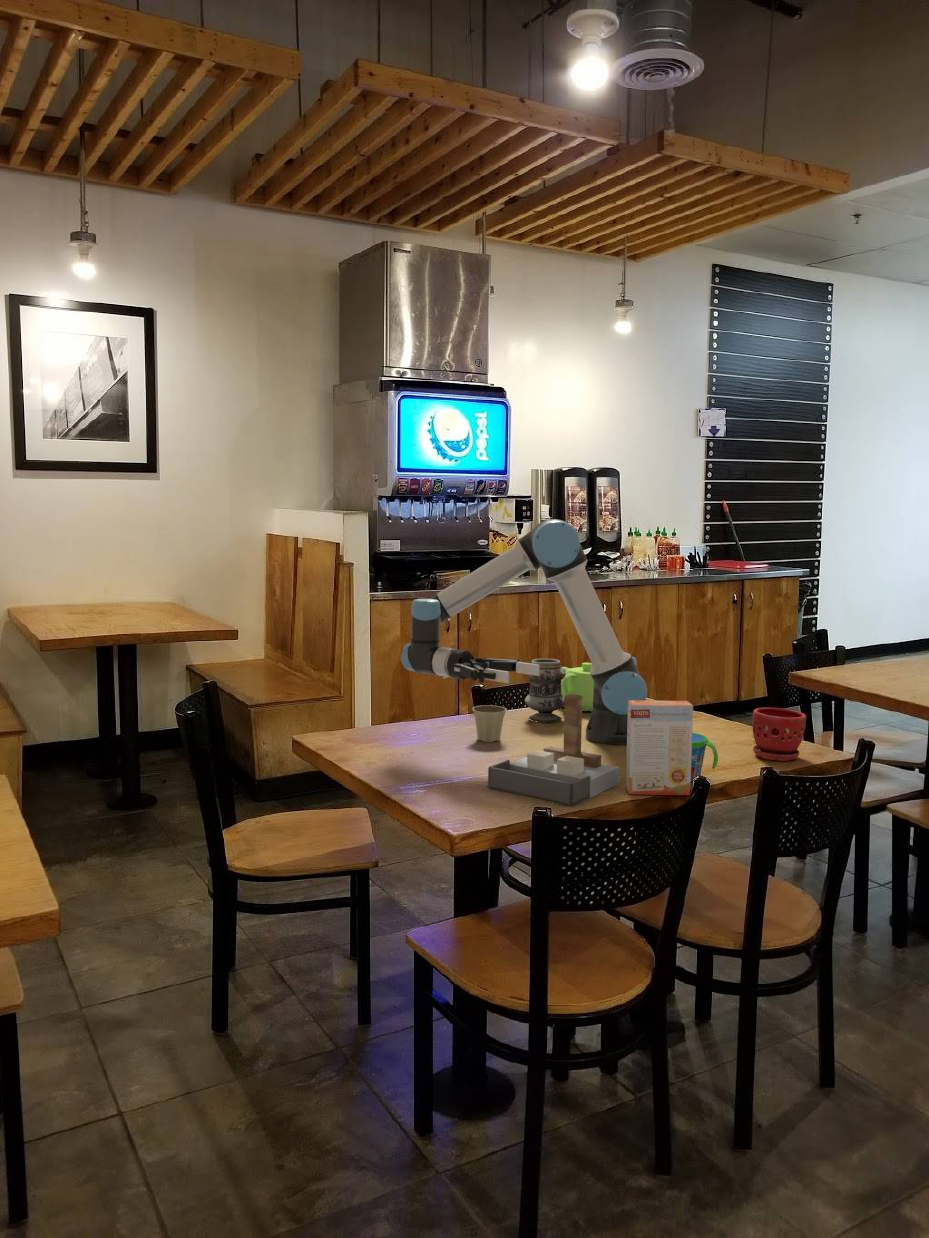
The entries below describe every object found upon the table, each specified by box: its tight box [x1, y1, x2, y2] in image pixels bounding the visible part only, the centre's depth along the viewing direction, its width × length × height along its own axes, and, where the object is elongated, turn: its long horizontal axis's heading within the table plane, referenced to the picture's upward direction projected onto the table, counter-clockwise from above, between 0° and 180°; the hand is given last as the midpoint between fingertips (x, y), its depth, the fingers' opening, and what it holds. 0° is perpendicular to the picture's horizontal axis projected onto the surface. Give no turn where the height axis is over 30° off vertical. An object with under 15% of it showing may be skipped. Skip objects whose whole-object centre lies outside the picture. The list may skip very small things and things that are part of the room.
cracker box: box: [625, 700, 694, 796], centre depth 227 cm, size 14×6×21 cm, turn 88°
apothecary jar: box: [524, 658, 566, 723], centre depth 300 cm, size 12×12×18 cm
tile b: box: [557, 756, 584, 776], centre depth 229 cm, size 4×4×3 cm
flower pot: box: [471, 704, 508, 743], centre depth 275 cm, size 9×9×9 cm
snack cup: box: [691, 732, 719, 782], centre depth 239 cm, size 16×10×10 cm
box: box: [487, 759, 590, 807], centre depth 226 cm, size 8×22×5 cm, turn 54°
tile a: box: [526, 750, 554, 770], centre depth 234 cm, size 4×4×3 cm
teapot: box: [561, 662, 594, 712], centre depth 318 cm, size 19×20×14 cm
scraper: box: [543, 694, 602, 768], centre depth 237 cm, size 3×14×16 cm, turn 54°
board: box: [510, 756, 620, 799], centre depth 235 cm, size 14×22×4 cm, turn 54°
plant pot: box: [751, 707, 807, 762], centre depth 260 cm, size 13×13×12 cm
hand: (523, 673), depth 245 cm, fingers open, 13 cm apart
